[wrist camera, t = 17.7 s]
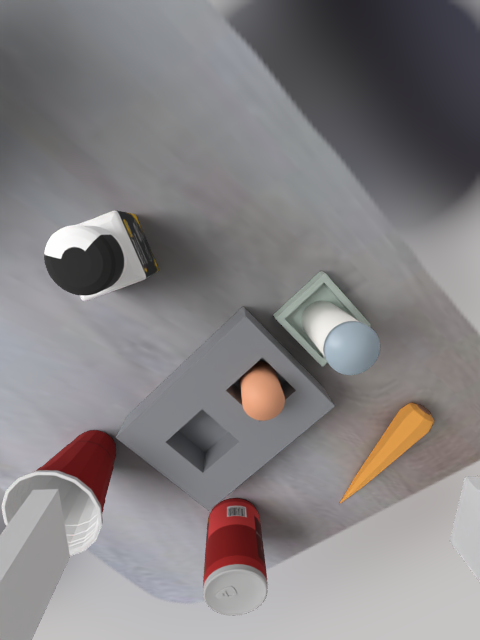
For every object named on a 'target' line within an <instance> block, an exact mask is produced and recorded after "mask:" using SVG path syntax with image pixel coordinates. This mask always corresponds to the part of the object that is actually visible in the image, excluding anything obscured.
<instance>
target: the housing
mask: <svg viewBox="0 0 480 640" xmlns="http://www.w3.org/2000/svg"><path fill="white" fill-rule="evenodd" d="M258 361H263V362H266V363H268V364H270V365H271V366H272V367H273V368H274V369H275V371H276V374H277V377H278V379H279V382H280V385H281V388H282V391H283V394H284V397H285V404H284V407H283V409H282V411H281V412H280V414H278V415H277V416H276V417H274V418H272V419H270V420H265V421H260V420H256V419H253V418H251V417H250V416H248V415H247V414H246V412H245V411H244V409H243V405H242V396H241V384H240V377H241V376H242V375H243V374H245V373H246V372H247V371H248V370H249V369H250V368H251V367H252V366H253V365H255V364H256V363H257V362H258ZM333 407H335V405H334V404H333V402H332V400H331V399H330V397H329V396H328V394H327V392H326V391H325V389H324V388H323V386H322V385H321V384H320V383H319V382H318V381H317V380H316V379H315V378H314V377H313V376H312V375H311V374H310V373H309V372H308V371H307V370H306V369H305V368H304V367H303V366H302V365H301V364H300V363H299V362H298V361H297V360H296V359H295V358H294V357H293V356H292V355H291V354H290V353H289V352H288V351H287V350H286V349H285V348H284V347H283V346H282V345H281V344H280V343H279V342H278V341H277V340H276V339H275V338H274V337H273V336H272V335H271V334H270V333H269V332H268V331H267V330H266V329H265V328H264V327H263V326H262V325H261V324H260V323H259V322H258V321H257V320H256V319H255V318H254V317H253V316H252V315H251V314H250V313H249V312H248V311H247V310H246V309H245V308H244V307H242V308H241V309H240V310H239V311H238V312H237V313H235V314H234V315H233V316H232V317H231V318H230V319H229V320H228V321H227V322H226V323H225V324H224V325H223V326H222V327H221V328H220V329H219V330H217V331H216V332H215V333H214V334H213V335H212V336H211V337H210V338H209V339H208V340H207V341H206V342H205V343H204V344H203V345H202V346H201V347H199V348H198V349H197V350H196V351H195V352H194V353H193V354H192V355H191V356H190V357H189V358H188V359H187V360H186V361H185V362H184V363H183V364H181V365H180V366H179V367H178V368H177V369H176V370H175V371H174V372H173V373H172V374H171V375H170V376H169V377H168V378H167V379H166V380H165V381H164V382H162V383H161V384H160V385H159V386H158V387H157V388H156V389H155V390H154V391H153V392H152V393H151V394H150V395H149V396H148V397H147V398H146V399H144V400H143V401H142V402H141V403H140V404H139V405H138V406H137V407H136V408H135V409H134V410H133V411H132V412H131V413H130V414H129V415H128V416H127V418H126V419H125V421H124V423H123V425H122V427H121V429H120V431H119V432H118V434H117V436H116V438H117V439H118V440H119V441H121V442H122V443H123V444H124V445H126V446H127V447H128V448H129V449H131V450H132V451H133V452H135V453H136V454H137V455H138V456H140V457H141V458H142V459H143V460H145V461H146V462H147V463H149V464H150V465H151V466H152V467H154V468H155V469H156V470H157V471H159V472H160V473H161V474H162V475H164V476H165V477H166V478H168V479H169V480H170V481H171V482H173V483H174V484H175V485H176V486H178V487H179V488H180V489H182V490H183V491H184V492H185V493H187V494H188V495H189V496H190V497H192V498H193V499H194V500H195V501H197V502H198V503H199V504H201V505H202V506H203V507H204V508H206V509H207V510H208V511H209V510H210V509H212V508H213V507H214V506H215V505H216V504H218V503H219V502H220V501H221V500H222V499H224V498H225V497H226V496H227V495H228V494H230V493H231V492H232V491H233V490H234V489H236V488H237V487H238V486H239V485H241V484H242V483H243V482H244V481H245V480H247V479H248V478H249V477H250V476H251V475H253V474H254V473H255V472H256V471H257V470H259V469H260V468H261V467H262V466H263V465H265V464H266V463H267V462H268V461H269V460H271V459H272V458H273V457H274V456H275V455H277V454H278V453H279V452H280V451H282V450H283V449H284V448H285V447H286V446H288V445H289V444H290V443H291V442H292V441H294V440H295V439H296V438H297V437H298V436H300V435H301V434H302V433H303V432H304V431H306V430H307V429H308V428H309V427H310V426H312V425H313V424H314V423H315V422H316V421H318V420H319V419H320V418H321V417H322V416H324V415H325V414H326V413H327V412H329V411H330V410H331V409H332V408H333Z"/></svg>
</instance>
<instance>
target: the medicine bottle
mask: <svg viewBox="0 0 480 640" xmlns="http://www.w3.org/2000/svg"><path fill="white" fill-rule="evenodd" d="M44 259H45V265H46V268H47V271H48V273H49V275H50V276H51V278H52V279H53V280H54V282H55V283H56V284H57V285H58V286H60V287H61V288H62V289H64V290H66V291H67V292H70V293H72V294H76V295H80V297H81V299H82V300H83V301H88V300H91V299H94V298H96V297H99V296H102V295H105V294H107V293H110V292H113V291H115V290H118V289H121V288H123V287H126V286H129V285H132V284H134V283H137V282H140V281H142V280H145V279H146V278H148V277H150V276H151V275H153V274H155V273H157V272H158V271H159V268H158V266H157V264H156V261H155V259H154V257H153V254H152V252H151V250H150V247H149V245H148V243H147V240H146V238H145V236H144V233H143V231H142V228H141V226H140V224H139V221H138V219H137V217H136V215H135V214H131V213H126V212H120V211H111V212H109V213H106V214H104V215H101V216H98V217H96V218H93V219H91V220H88V221H85V222H83V223H80V224H78V225H71V226H66V227H64V228H61V229H59V230H58V231H56V232H55V233H54V234H52V235H51V237H50V239H49V240H48V242H47V244H46V248H45V253H44Z"/></svg>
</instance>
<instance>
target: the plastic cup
mask: <svg viewBox="0 0 480 640" xmlns="http://www.w3.org/2000/svg"><path fill="white" fill-rule="evenodd" d="M115 456H116V444H115V442H114V441H113V439H112V437H110V436H109V435H108V434H106V433H104V432H101V431H98V430H90V431H87V432H84V433H82V434H81V435H79V436H78V437H77V438H76V439H75V440H73V441H72V442H71V443H70V444H68V445H67V446H66V447H64V448H63V449H62V450H61V451H60V452H59V453H57V454H56V455H55V456H54V457H53V458H52V459H50V460H49V461H48V462H47V463H46V464H45V465H43V466H42V467H40V468H39V469H37V470H36V471H34V472H32V473H29V474H27V475H24V476H21V477H19V478H18V479H17V480H16V481H15V482H14V483H13V484H12V485H11V486H10V487H9V488H8V489H7V490H6V492H5V495H4V499H3V502H2V506H1V507H2V512H3V518H4V523H5V524H6V526H7V525H8V524H9V522H10V521H11V520H12V518H13V517H14V515H15V514H16V513H17V511H18V510H19V508H20V507H21V506H22V504H23V503H24V502H25V500H26V499H27V497H28V496H29V495H30V493H31V492H32V490H47V489H58V490H59V496H60V502H61V507H62V513H63V519H64V525H65V531H66V536H67V542H68V548H69V554H70V556H71V555H74V554H77V553H80V552H83V551H85V550H86V549H87V548H88V547H89V546H90V545H92V544H93V543H94V542H95V541H96V540H97V537H98V534H99V532H100V529H101V527H102V523H103V519H102V512H103V507H104V503H105V497H106V494H107V490H108V486H109V482H110V478H111V475H112V471H113V464H114V460H115Z"/></svg>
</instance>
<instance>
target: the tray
mask: <svg viewBox="0 0 480 640" xmlns="http://www.w3.org/2000/svg"><path fill="white" fill-rule="evenodd" d="M320 300H324V301H328V302H331V303H332V304H334V305H335V306H337V307H338V308H340V309H341V310H343V311H344V312H346V313H347V314H349V315H350V316H352V317H353V318H355V319H356V320H358V321H359V322H361V323H364V324H366V325H367V326H370V325H371V324H370V323H369V322H368V321H367V320H366V319H365V318H364V316H363V315H362V314H361V313H360V312H359V311H358V310H357V309H356V307H355V306H354V305H353V304H352V303H351V302H350V301H349V299H348V298H347V297H346V296H345V295H344V294H343V293H342V292H341V290H340V289H339V288H338V287H337V286H336V285H335V284H334V282H333V281H332V280H331V279H330V278H329V277H328V276H327V275H326V273H324V272H322V271H320V272H319V273H318V274H317V275H316V276H315V277H313V278H312V279H311V280H310V281H309V282H308V283H307V284H306V285H305V286H304V287H303V288H302V289H300V290H299V291H298V292H297V293H296V294H295V295H294V296H293V297H292V298H291V299H290V300H289V301H287V302H286V303H285V304H284V305H283V306H282V307H281V308H280V309H279V310H278V311H277V312H275V313H274V314H273V315H274V317H275V319H276V320H277V321H278V322H279V323H280V324H281V325H282V326H283V327H284V328H285V329H286V330H287V331H288V332H289V333H290V334H291V335H292V336H293V337H294V338H295V339H296V340H297V341H298V342H299V343H300V344H301V345H302V347H303V348H304V349H305V350H306V351H307V352H308V353H309V354H310V355H311V356H312V357H313V358H314V359H315V360H316V361H317V362H318V363H319V364H320V365H321V366H322V367H323V366H324V365H325V364H326V363H327V360H326V359H325V357H324V355H323V354H322V353H321V352H320V350H319V349H318V348H317V346H316V345H315V344H314V343H313V341H312V340H311V339H310V338H309V336H308V335H307V334H306V333H305V331H304V330H303V328H302V325H301V317H302V314H303V312H304V310H305V308H306V307H307V306H308V305H310V304H311V303H313V302H315V301H320Z"/></svg>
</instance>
